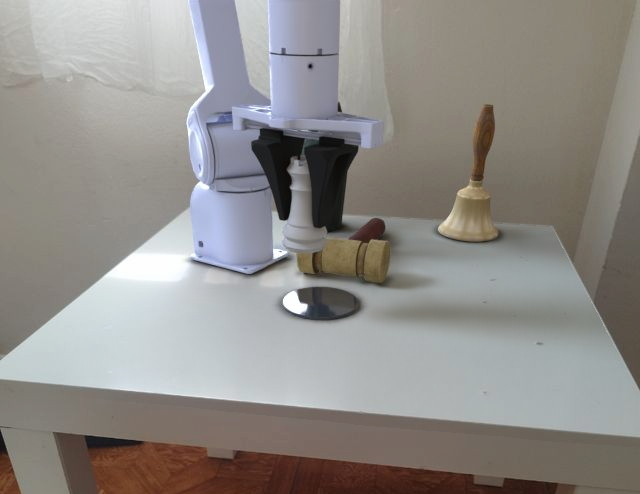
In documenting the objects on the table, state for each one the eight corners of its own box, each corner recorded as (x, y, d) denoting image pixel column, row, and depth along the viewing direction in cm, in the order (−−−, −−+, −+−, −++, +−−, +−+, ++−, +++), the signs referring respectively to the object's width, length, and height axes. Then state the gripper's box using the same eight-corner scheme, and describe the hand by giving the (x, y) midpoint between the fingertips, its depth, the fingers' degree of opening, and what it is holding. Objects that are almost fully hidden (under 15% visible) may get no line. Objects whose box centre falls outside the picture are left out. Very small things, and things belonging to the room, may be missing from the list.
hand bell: (509, 232, 86) (532, 104, 77) (479, 246, 81) (501, 111, 72) (457, 220, 90) (474, 98, 81) (426, 233, 85) (440, 104, 76)
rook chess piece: (283, 238, 61) (281, 152, 57) (328, 239, 61) (330, 153, 56) (279, 253, 58) (277, 163, 53) (327, 255, 57) (329, 164, 53)
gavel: (348, 202, 86) (419, 208, 83) (346, 235, 88) (415, 243, 86) (295, 236, 69) (382, 246, 66) (295, 276, 71) (379, 288, 68)
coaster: (267, 307, 64) (267, 305, 64) (309, 283, 70) (309, 281, 70) (332, 326, 61) (332, 323, 61) (371, 299, 66) (371, 297, 66)
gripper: (204, 51, 51) (217, 218, 58) (356, 62, 44) (348, 247, 52) (256, 47, 55) (263, 201, 63) (400, 56, 49) (387, 226, 57)
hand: (304, 221), depth 58 cm, fingers closed on rook chess piece, 3 cm apart
